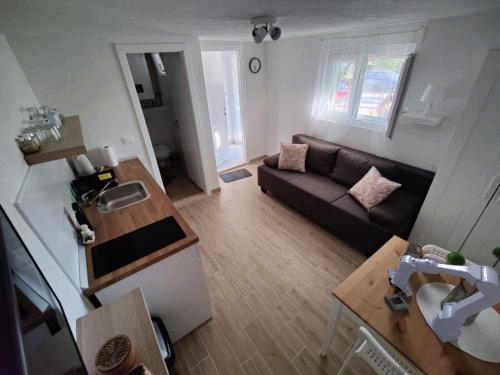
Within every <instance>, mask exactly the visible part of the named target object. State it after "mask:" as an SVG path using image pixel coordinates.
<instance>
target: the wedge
mask: <svg viewBox="0 0 500 375" xmlns="http://www.w3.org/2000/svg"><path fill="white" fill-rule="evenodd" d="M395 286H397V285H390V284H389V288H388V290H387V292H386V295H388V296H389V297H394V296H397V295H398V294H396V295H394V291H395Z"/></svg>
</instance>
